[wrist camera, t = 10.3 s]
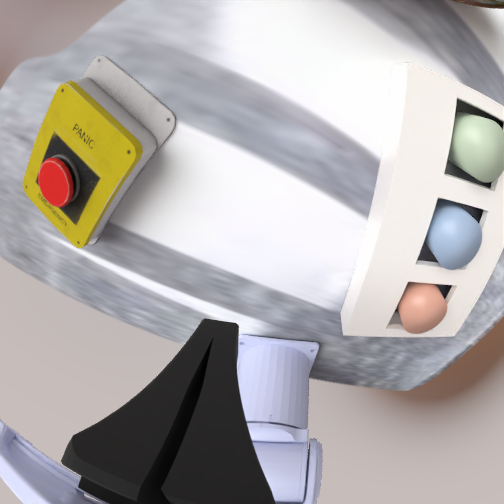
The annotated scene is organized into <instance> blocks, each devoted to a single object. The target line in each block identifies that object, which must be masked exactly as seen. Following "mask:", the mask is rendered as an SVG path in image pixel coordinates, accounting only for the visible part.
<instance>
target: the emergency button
mask: <svg viewBox="0 0 504 504" xmlns="http://www.w3.org/2000/svg"><path fill="white" fill-rule="evenodd" d="M175 125H176V118H175V116H174V114H173V112H172V111H171V110H170V109H168V108H167V107H166V106H165V105H164V104H163V103H162V102H160V101H159V100H158V99H157V98H156V97H155V96H153V95H152V94H151V93H150V92H149V91H148V90H146V89H145V88H144V87H143V86H142V85H141V84H139V83H138V82H137V81H136V80H135V79H133V78H132V77H131V76H130V75H128V74H127V73H126V72H125V71H124V70H122V69H121V68H120V67H119V66H117V65H116V64H115V63H114V62H113V61H111V60H110V59H109V58H107V57H106V56H98V57H96V58H95V59H94V60H93V61H92V62H91V63H90V65H89V66H88V68H87V70H86V71H85V73H84V75H83V76H82V78H81V79H78V80H74V81H69V82H66V83H63V84H61V85H60V86H59V87H58V89H57V91H56V93H55V95H54V97H53V99H52V101H51V103H50V105H49V108H48V110H47V112H46V115H45V117H44V120H43V122H42V124H41V127H40V130H39V132H38V135H37V138H36V140H35V143H34V146H33V149H32V152H31V155H30V159H29V162H28V165H27V169H26V172H25V176H24V179H23V189H24V192H25V193H26V195H27V196H28V197H29V198H30V199H31V201H32V202H33V203H34V204H35V205H36V206H37V208H38V209H39V210H40V211H41V212H42V213H43V214H44V215H45V216H46V217H47V219H48V220H49V221H50V222H51V223H52V224H53V225H54V226H55V227H56V228H57V229H58V230H59V231H60V232H61V233H62V234H63V235H64V236H65V237H66V238H67V239H68V240H69V241H70V242H71V243H72V244H73V245H74V246H75V247H76V248H80V249H81V248H82V247H84V246H85V245H87V244H94V243H95V242H96V241H97V240H98V238H99V236H100V235H101V233H102V231H103V230H104V228H105V226H106V225H107V223H108V221H109V220H110V218H111V216H112V215H113V213H114V212H115V210H116V209H117V207H118V205H119V204H120V202H121V201H122V199H123V198H124V196H125V195H126V193H127V192H128V190H129V189H130V187H131V186H132V185H133V183H134V182H135V180H136V179H137V177H138V176H139V175H140V173H141V172H142V170H143V169H144V168H145V166H146V165H147V164H148V162H149V161H150V160H151V158H152V157H153V156H154V154H155V153H156V152H157V150H158V149H159V148H160V147H161V145H162V144H163V143H164V142H165V140H166V139H167V138H168V137H169V135H170V134H171V133H172V131H173V129H174V127H175Z"/></svg>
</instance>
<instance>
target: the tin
mask: <svg viewBox="0 0 504 504" xmlns="http://www.w3.org/2000/svg"><path fill="white" fill-rule="evenodd" d="M455 1H459V2H462V3H465V4H469V5H473V6H479V7H485V8H500V9H503V8H504V0H455Z"/></svg>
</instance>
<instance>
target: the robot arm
mask: <svg viewBox="0 0 504 504" xmlns="http://www.w3.org/2000/svg"><path fill="white" fill-rule="evenodd" d="M318 350H319V344H318V343H316V342H306V341H294V340H284V339H274V338H265V337H257V336H249V335H239V325H237V324H236V323H232V322H224V321H218V320H211V319H203V320H202V322H201V323H200V325H199V326H198V327H197V329H196V330H195V332H194V333H193V335H192V336H191V337H190V339H189V340H188V341H187V342H186V344H185V345H184V346H183V348H182V349H181V350H180V351H179V352H178V354H177V355H176V356H175V357H174V358H173V360H172V361H171V362H170V363H169V364H168V365H167V366H166V367H165V368H164V369H163V371H162V372H161V373H160V374H159V375H158V376H157V377H156V378H155V379H154V380H153V381H152V382H151V383H150V384H149V385H147V386H146V387H145V388H144V389H143V390H142V391H141V392H140V393H139V394H137V395H136V396H135V397H134V398H132V399H131V400H130V401H129V402H127V403H126V404H125V405H123V406H122V407H121V408H119V409H118V410H116V411H115V412H113V413H112V414H110V415H109V416H107V417H106V418H104V419H103V420H101V421H100V422H98V423H96V424H94V425H92V426H91V427H89V428H87V429H85V430H83V431H81V432H79V433H77V434H75V435H73V437H72V439H71V440H70V442H69V444H68V445H67V448H66V450H65V453H64V455H63V458H62V460H61V462H62V464H63V465H64V466H66V467H68V468H69V469H71V470H72V471H74V472H76V473H77V474H79V475H81V477H80V476H79V475H77V474H75V473H73V472H72V471H70V470H68V469H67V468H65V467H63V466H62V465H60V464H59V463H57V462H56V461H54V460H52V459H51V458H49V457H48V456H46V455H45V454H44V453H42V452H41V451H39V450H38V449H37V448H35V447H34V446H33V445H32V443H30V442H29V441H28V440H26V439H25V438H24V437H22V436H21V435H20V434H19V433H17V432H16V431H14V430H13V429H11V428H10V427H9V426H7V425H6V424H5V423H4V422H2V421H1V420H0V477H1V478H2V479H3V481H4V482H5V483H6V484H7V485H8V487H9V488H10V489H11V490H12V491H13V492H14V493H15V495H16V496H17V497H18V498H19V499H20V500H21V501H22V502H23V503H24V504H316V502H317V498H318V496H319V492H320V486H321V477H322V445H321V444H320V443H319V442H317V439H315V438H314V439H310V444H309V449H308V431H309V430H308V429H307V427H308V396H309V373H310V371H311V368H312V366H313V363H314V360H315V358H316V355H317V352H318ZM307 453H308V460H307ZM305 483H306V485H305ZM84 493H85V494H87V495H89V496H90V497H92V498H95V499H96V500H98V501H96V500H93V499H91V498H88V497H85V496H84ZM99 501H100V502H99ZM101 502H102V503H101Z"/></svg>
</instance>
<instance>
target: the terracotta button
mask: <svg viewBox="0 0 504 504" xmlns="http://www.w3.org/2000/svg"><path fill="white" fill-rule="evenodd" d="M397 310H398V312H399V315H400V318H401V321H402V324H403V327H404V329H405V330H406V331H407V332H408V333H411V334H421V333H424V332H427V331H429V330H431V329H433V328H434V327H436V326H437V325H438V324H439V323H440V322H441V321H442V320H443V319H444V317H445V315H446V313H447V303H446V301H445V299H444V298H443V296H442V294H441V292H440V290H439V288H438V286H437V285H436V284H431V283H419V282H408V283H407V285H406V288H405V290H404V292H403V294H402V296H401V299H400V301H399V303H398V305H397Z"/></svg>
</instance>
